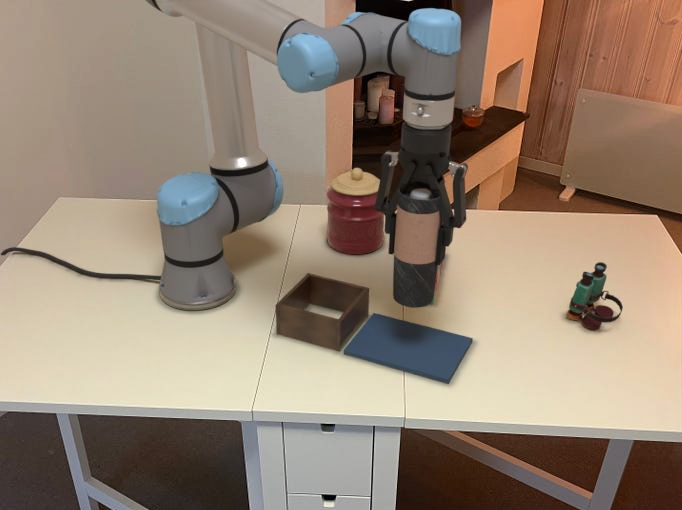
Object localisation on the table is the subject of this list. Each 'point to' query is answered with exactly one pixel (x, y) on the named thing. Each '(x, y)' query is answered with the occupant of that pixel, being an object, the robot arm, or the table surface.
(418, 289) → the travel mug
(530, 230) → the table surface
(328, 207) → the kitchen canister
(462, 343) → the mat
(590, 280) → the binoculars
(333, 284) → the cube shelf
